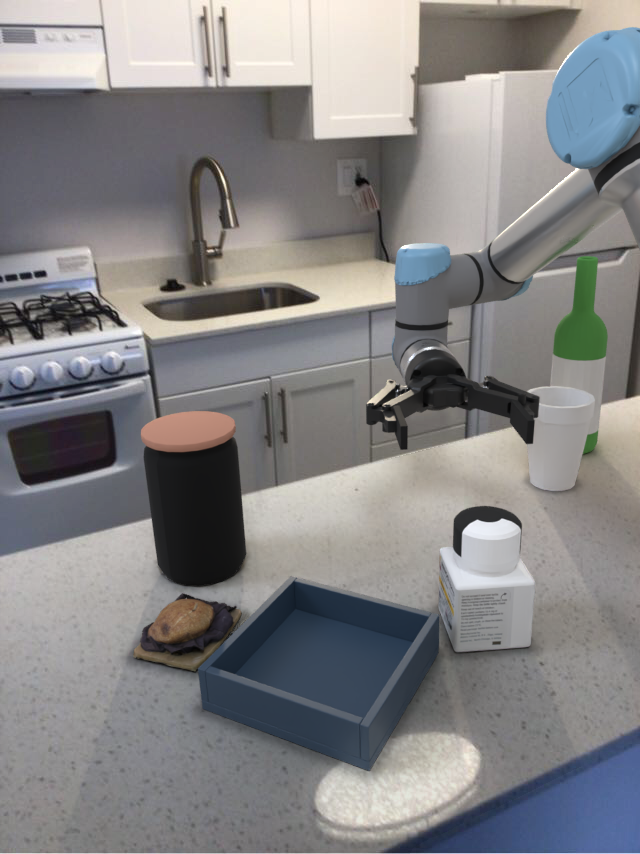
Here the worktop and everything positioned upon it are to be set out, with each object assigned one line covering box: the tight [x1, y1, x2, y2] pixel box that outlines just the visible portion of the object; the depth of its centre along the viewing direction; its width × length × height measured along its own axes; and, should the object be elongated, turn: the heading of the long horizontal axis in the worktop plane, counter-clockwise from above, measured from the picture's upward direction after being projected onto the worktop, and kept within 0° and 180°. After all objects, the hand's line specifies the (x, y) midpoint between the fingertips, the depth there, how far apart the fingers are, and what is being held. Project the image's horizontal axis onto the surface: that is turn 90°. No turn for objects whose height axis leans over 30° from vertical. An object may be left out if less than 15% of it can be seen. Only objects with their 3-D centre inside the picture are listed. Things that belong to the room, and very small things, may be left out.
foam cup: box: [526, 385, 595, 492], centre depth 107 cm, size 10×9×13 cm
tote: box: [197, 575, 441, 772], centre depth 71 cm, size 17×17×4 cm
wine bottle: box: [549, 255, 609, 455], centre depth 116 cm, size 8×8×30 cm
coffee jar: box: [140, 410, 247, 587], centre depth 88 cm, size 11×11×18 cm
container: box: [438, 505, 536, 653], centre depth 76 cm, size 8×8×13 cm
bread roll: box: [132, 593, 242, 672], centre depth 78 cm, size 11×8×4 cm
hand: (467, 435), depth 81 cm, fingers open, 13 cm apart
